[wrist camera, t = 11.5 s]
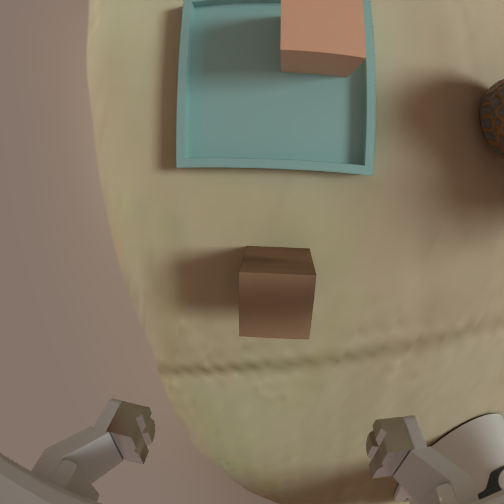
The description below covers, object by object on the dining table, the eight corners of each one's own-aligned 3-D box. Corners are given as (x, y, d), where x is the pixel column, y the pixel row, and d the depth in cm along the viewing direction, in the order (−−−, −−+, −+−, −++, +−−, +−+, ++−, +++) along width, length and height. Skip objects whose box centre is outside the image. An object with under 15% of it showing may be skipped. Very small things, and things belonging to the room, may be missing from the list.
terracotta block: (346, 21, 16) (361, -9, 12) (347, 77, 18) (365, 58, 13) (281, 16, 17) (280, -17, 12) (280, 71, 18) (280, 49, 13)
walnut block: (304, 303, 24) (309, 339, 19) (247, 300, 24) (239, 336, 20) (309, 248, 23) (316, 275, 18) (247, 245, 23) (238, 271, 18)
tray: (366, 173, 20) (372, 175, 19) (183, 166, 21) (176, 167, 20) (365, 8, 16) (370, 0, 15) (189, 4, 17) (183, -4, 16)
